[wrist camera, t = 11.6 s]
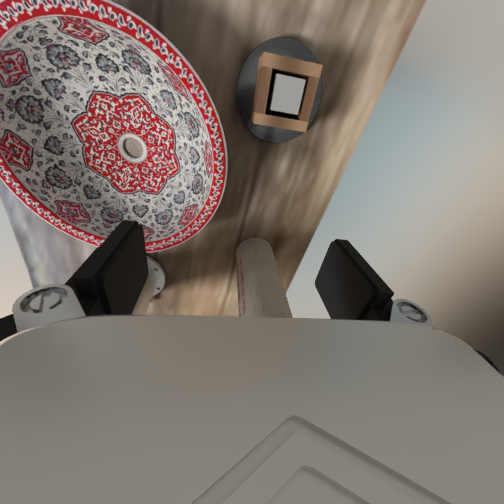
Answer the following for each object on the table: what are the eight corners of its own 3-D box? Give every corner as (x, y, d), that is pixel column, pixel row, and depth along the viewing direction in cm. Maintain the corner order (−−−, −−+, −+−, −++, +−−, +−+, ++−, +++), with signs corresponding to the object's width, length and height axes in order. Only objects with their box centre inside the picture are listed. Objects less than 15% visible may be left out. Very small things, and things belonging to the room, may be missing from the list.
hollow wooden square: (309, 69, 30) (322, 65, 26) (296, 128, 34) (305, 132, 30) (258, 58, 29) (264, 51, 25) (250, 120, 32) (254, 123, 28)
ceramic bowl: (12, 179, 35) (-37, 197, 29) (30, -66, 23) (-50, -132, 16) (184, 252, 46) (177, 277, 40) (262, 114, 34) (271, 118, 27)
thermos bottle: (231, 263, 49) (234, 408, 26) (241, 233, 45) (256, 373, 22) (264, 270, 51) (295, 410, 28) (277, 242, 47) (326, 379, 24)
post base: (304, 146, 37) (318, 154, 31) (232, 134, 35) (233, 141, 29) (330, 50, 30) (352, 40, 25) (242, 29, 28) (245, 13, 23)
